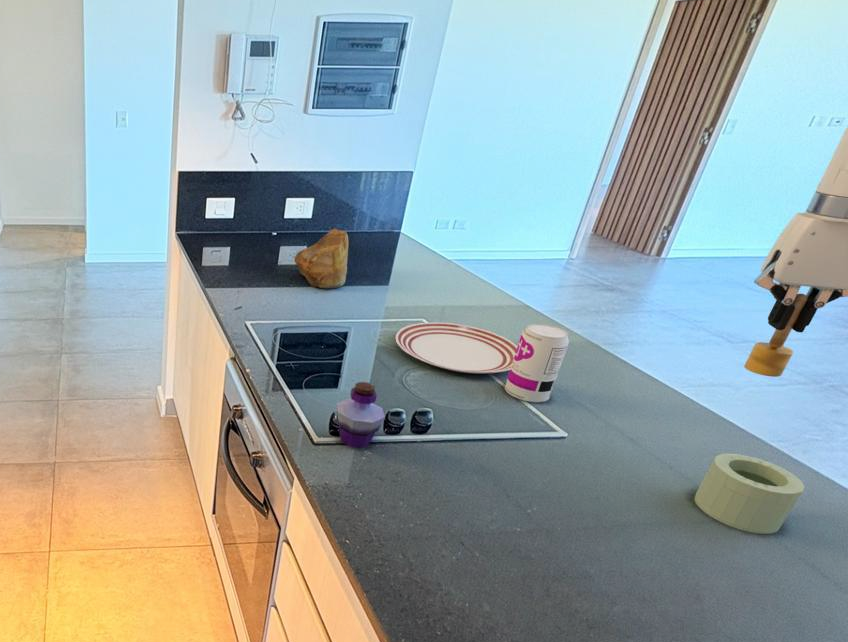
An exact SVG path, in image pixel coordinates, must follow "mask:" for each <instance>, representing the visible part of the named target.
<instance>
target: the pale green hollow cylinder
mask: <svg viewBox="0 0 848 642" xmlns="http://www.w3.org/2000/svg"><path fill="white" fill-rule="evenodd" d="M804 491H805V485H804V483H803V481H802V480H800V478H799V477H798V476H796V475H795V474H794V473H792V472H790V471H788V470H787V469H785V468H783V467H781V466H778V465H777V464H774V463H772V462H770V461H766V460H763V459H761V458H758V457H753V456H750V455H745V454H739V453H722V454H717V455H716V456H715V457H714V458H713V460H712V461H711V464H710V466H709V467H708V470H707V472H706V473H705V475H704V477H703V479H702V481H701V483H700V485H699V487H698V488H697V491H696V493H695V495H694V502H695V504H696V506H697V507H698V508H699V509H700V510H701V511H703V512H704V513H705V514H707V516H709V517H711V518H712V519H714V520H716V521H718V522H720V523H723V524H725V525H726V526H728V527H729V526H730V527H732V528H735V529H738V530H741V531H745V532H749V533H754V534H762V535H769V534H770V535H771V534H775V533H777V532H778V531H779V530H780V528H781V527H782V526H783V524H784V522H785V521H786V519H787V518H788V516H789V514H790V513H791V511H792V509H793V508H794V506H795V505H796V503H797V501H798V500H799V498H800V497H801V495H802V493H803V492H804Z"/></svg>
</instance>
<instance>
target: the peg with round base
mask: <svg viewBox="0 0 848 642" xmlns="http://www.w3.org/2000/svg"><path fill="white" fill-rule="evenodd" d="M806 295H807V294H804V293H797V296H796V298H795V300H794V302H793V304H792V305H793V306H795V310H794V312H793V314H792V316H791V318H790V320H789V321H788V323H787V325H786V327H785V329H784V330H777V329H775V330H774V332H773V334H772V336H771V338H770V340H769V341H768V342H762V341H761V342H756V343H755V344H754V345H753V346H752V349H751V351H750V353H749V355H748V357H747V359H746V361H745V363H744V365H743V367H744V368H745V370H747V371H748V372H752V373H754V374H757V375H760V376H765V377H774V378H778V377H781V376H782V375H783V373H784V371H785V369H786V367H787V366H788V363H789V362H790V360H791V358H792V356H793V354H794V350H792V349H791V348H789V347H786V346H784V345H785V344H786V342H787V339H788V337H789V335H790V333H791V332H792V330H793V329H792V328H793V326H794V324H795V322H796V320H797V318H798V316H799V314H800V312H801V311H802V309H803V307H804V305H805V303H806V301H807V296H806Z"/></svg>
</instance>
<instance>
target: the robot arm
mask: <svg viewBox="0 0 848 642" xmlns="http://www.w3.org/2000/svg"><path fill="white" fill-rule="evenodd" d="M774 281H775V282H774ZM753 283H754V284H755V285H756V286H759V287H760V288H762V289H765V290H767V291H769V292H770V293H771V295H772V296H773V299H775V303H774V304H773V306H772V308H771V310H770V312H769V314H768V317H767V323H768V325H769V326H771V327H772V328H773V329H775V330H776V329H777V330H784V329H785V327H786V325H787V323H788V321H789V320H790V318H791V316H792V314H793V312H794V310H795V306H793V305H792V304H793V302H794V300H795V298H796V296H797V294H799V291H800V289H801V287H808V288H809V289H808V291H807V293H806V294H805V295H806V296H807V301H806V303H805V305H804V307H803V309H802V311H801V312H800V314H799V316H798V318H797V320H796V322H795V324H794V326H793V328H792V330H793V331H794V332H796V333H803V332H804V331H805V329H806V327H808V326H809V325H810V324H811V323H812V320H813V319H814V317H815V315H816V313H817V311H818V310H819V309H822V308H824V307H825V306H826V305H827V304H828V303H831V302H833V301H836V300H837V299H839V298H847V297H848V125H847V126H846V128H845V129H844V132H843V133H842V136H841V138H840V139H839V142H838V144H837V145H836V148H835V150H834V153H833V155H832V156H831V158H830V160H829V163H828V165H827V167H826V168H825V170H824V173H823V175H822V177H821V179H820V181H819V182H818V185H817V187H816V189H815V191H814V193H813V194H812V197H811V200H810V201H809V203H808V206H807V208H806V210H805V211H804V212H796V213H795V215H794V216H793V217H792V219H790V220H789V222H788V223H787V224H786V226H785V228H784V229H783V230H782V232H781V233H780V234H779V236H778V237H777V239H776V240H775V242H774V244H773V245H772V247H771V248H770V250H769V252H768V254H767V255H766V258H765V259H764V261H763V263H762V266H761V268H760V273H759V275H758V276H757V277H755V279H753Z"/></svg>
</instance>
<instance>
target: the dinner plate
mask: <svg viewBox="0 0 848 642" xmlns="http://www.w3.org/2000/svg"><path fill="white" fill-rule="evenodd" d="M395 342H396V345H398V347H399V348H400V349H401V350H402V351H403V352H405V353H406V354H408V355H410V356H411V357H413V358H415V359H417V360H419V361H420V362H423V363H426V364H428V365H431V366H434V367H437V368H440V369H444V370H448V371H453V372H459V373H464V374H477V375H478V374H480V375H481V374H497V373H503V372H508V371H510V369H511V366H512V362H513V359H514V356H515V353H516V350H517V347H518V344H515V343H514V342H513V341H512V340H510V339H508V338H506V337H504V336H502V335H500V334H497V333H495V332H493V331H489V330H486V329H483V328H479V327H475V326H470V325H465V324H460V323H453V322H452V323H451V322H441V321H439V322H438V321H434V322H432V321H430V322H429V321H428V322H418V323H413V324H409V325H407V326H404V327H402V328H400V330H398V331H397V332H396V335H395Z"/></svg>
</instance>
